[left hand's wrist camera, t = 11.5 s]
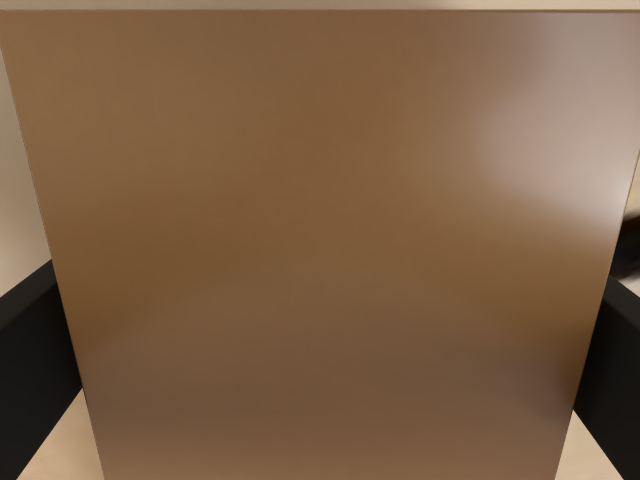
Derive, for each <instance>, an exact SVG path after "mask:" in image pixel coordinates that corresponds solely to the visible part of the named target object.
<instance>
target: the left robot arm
mask: <svg viewBox="0 0 640 480" xmlns="http://www.w3.org/2000/svg"><path fill="white" fill-rule="evenodd" d="M82 388H83V387H82V382H81V378H80V374H79V370H78V366H77V362H76V358H75V353H74V349H73V345H72V341H71V337H70V333H69V328H68V324H67V320H66V316H65V312H64V308H63V303H62V299H61V295H60V291H59V287H58V283H57V278H56V274H55V270H54V266H53V262H52V259H51V260H49V261H48V262H47V263H45V264H44V265H43V266H41V267H40V268H39V269H37V270H36V271H35V272H33V273H32V274H31V275H30V276H28V277H27V278H26V279H24V280H23V281H22V282H20V283H19V284H18V285H16V286H15V287H14V288H12V289H11V290H10V291H8V292H7V293H6V294H4V295H3V296H2V297H0V480H16V479H17V478H18V477H19V475H20V474H21V473H22V471H23V470H24V468H25V467H26V466H27V464H28V463H29V461H30V460H31V459H32V457H33V456H34V454H35V453H36V452H37V450H38V449H39V447H40V446H41V445H42V443H43V442H44V440H45V439H46V438H47V436H48V435H49V433H50V432H51V431H52V429H53V428H54V427H55V425H56V424H57V422H58V421H59V420H60V418H61V417H62V415H63V414H64V413H65V411H66V410H67V408H68V407H69V406H70V404H71V403H72V401H73V400H74V399H75V397H76V396H77V394H78V393H79V392H80V390H81V389H82ZM573 410H574V411H575V413H576V414H577V415H578V417H579V418H580V420H581V421H582V422H583V424H584V425H585V427H586V428H587V429H588V431H589V432H590V434H591V435H592V436H593V438H594V439H595V440H596V442H597V443H598V445H599V446H600V447H601V449H602V450H603V452H604V453H605V454H606V456H607V457H608V459H609V460H610V461H611V463H612V464H613V466H614V467H615V468H616V470H617V471H618V473H619V474H620V475H621V477H622V478H623V479H624V480H640V297H638V296H637V295H636V294H634V293H633V292H632V291H630V290H629V289H628V288H626V287H625V286H624V285H622V284H621V283H620V282H618V281H617V280H616V279H614V278H613V277H612V276H610V275H609V274H608V277H607V281H606V285H605V289H604V293H603V296H602V300H601V304H600V308H599V312H598V315H597V319H596V323H595V327H594V331H593V335H592V338H591V342H590V346H589V350H588V354H587V358H586V361H585V365H584V369H583V373H582V377H581V381H580V384H579V388H578V392H577V396H576V400H575V404H574V407H573Z"/></svg>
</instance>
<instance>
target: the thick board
mask: <svg viewBox="0 0 640 480" xmlns="http://www.w3.org/2000/svg"><path fill="white" fill-rule="evenodd" d="M0 45H1V50H2V54H3V58H4V62H5V66H6V70H7V75H8V79H9V83H10V87H11V91H12V95H13V100H14V104H15V108H16V112H17V116H18V120H19V125H20V129H21V133H22V137H23V141H24V145H25V149H26V154H27V158H28V162H29V166H30V170H31V174H32V179H33V183H34V187H35V191H36V195H37V199H38V204H39V208H40V212H41V216H42V220H43V224H44V229H45V233H46V237H47V241H48V245H49V249H50V253H51V258H52V262H53V266H54V270H55V274H56V278H57V283H58V287H59V291H60V295H61V299H62V303H63V308H64V312H65V316H66V320H67V324H68V328H69V333H70V337H71V341H72V345H73V349H74V353H75V358H76V362H77V366H78V370H79V374H80V378H81V382H82V387H83V391H84V395H85V399H86V403H87V407H88V412H89V416H90V420H91V424H92V428H93V432H94V437H95V441H96V445H97V449H98V453H99V457H100V462H101V466H102V470H103V474H104V478H105V480H555V476H556V472H557V469H558V465H559V461H560V457H561V453H562V449H563V446H564V442H565V438H566V434H567V430H568V427H569V423H570V419H571V415H572V411H573V407H574V404H575V400H576V396H577V392H578V388H579V384H580V381H581V377H582V373H583V369H584V365H585V361H586V358H587V354H588V350H589V346H590V342H591V338H592V335H593V331H594V327H595V323H596V319H597V315H598V312H599V308H600V304H601V300H602V296H603V293H604V289H605V285H606V281H607V277H608V273H609V270H610V266H611V262H612V258H613V254H614V250H615V247H616V243H617V239H618V235H619V231H620V227H621V224H622V220H623V216H624V212H625V208H626V204H627V201H628V197H629V193H630V189H631V185H632V182H633V178H634V174H635V170H636V166H637V162H638V159H639V155H640V10H0Z"/></svg>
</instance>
